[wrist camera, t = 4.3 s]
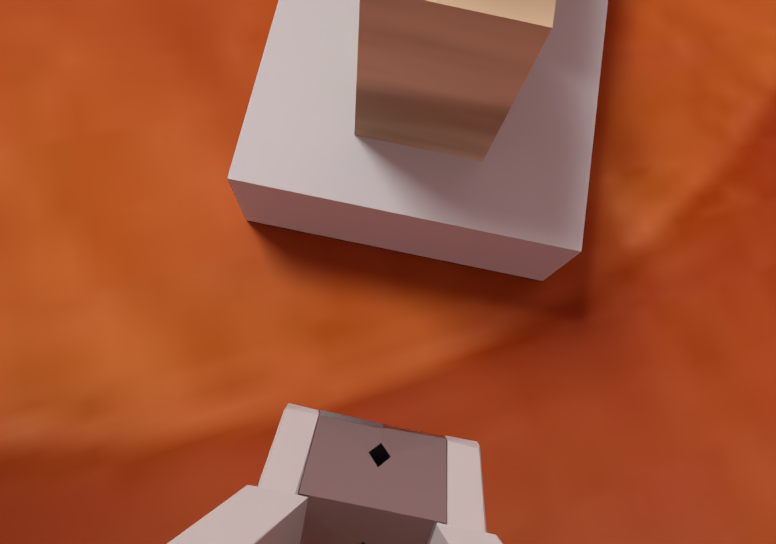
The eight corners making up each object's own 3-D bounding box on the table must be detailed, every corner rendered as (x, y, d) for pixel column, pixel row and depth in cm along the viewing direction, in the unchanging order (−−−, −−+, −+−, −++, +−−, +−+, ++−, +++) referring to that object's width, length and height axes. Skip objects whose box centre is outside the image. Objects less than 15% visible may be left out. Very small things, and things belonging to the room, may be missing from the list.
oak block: (482, 161, 20) (552, 27, 14) (354, 134, 20) (359, -14, 13) (502, 39, 22) (574, -137, 15) (381, 13, 22) (399, -176, 15)
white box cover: (542, 281, 24) (581, 251, 20) (246, 220, 23) (227, 178, 19) (582, -41, 28) (620, -117, 24) (332, -96, 28) (330, -181, 24)
